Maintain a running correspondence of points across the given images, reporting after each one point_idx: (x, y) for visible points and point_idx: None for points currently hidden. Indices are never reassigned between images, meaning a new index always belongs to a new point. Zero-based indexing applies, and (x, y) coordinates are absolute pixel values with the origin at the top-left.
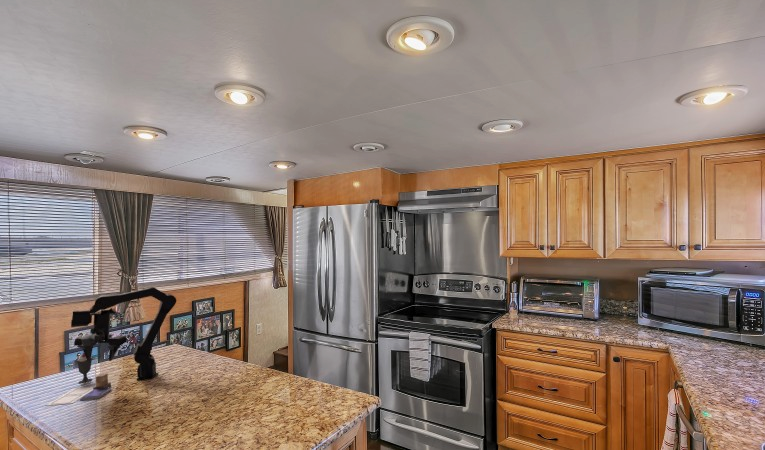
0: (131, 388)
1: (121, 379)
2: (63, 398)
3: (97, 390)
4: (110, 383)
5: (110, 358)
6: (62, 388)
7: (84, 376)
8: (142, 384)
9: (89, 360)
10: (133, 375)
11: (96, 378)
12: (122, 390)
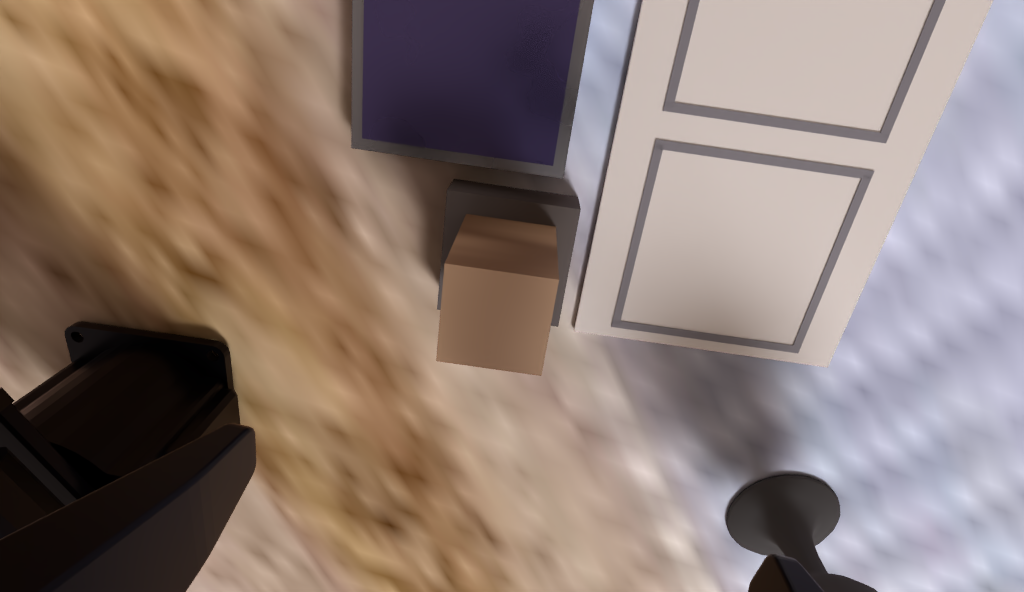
0: (129, 111)
1: (423, 432)
2: (867, 65)
3: (485, 103)
4: (439, 300)
5: (168, 455)
6: (960, 417)
7: (807, 551)
8: (73, 198)
9: (755, 576)
10: (353, 489)
11: (547, 267)
12: (208, 82)
